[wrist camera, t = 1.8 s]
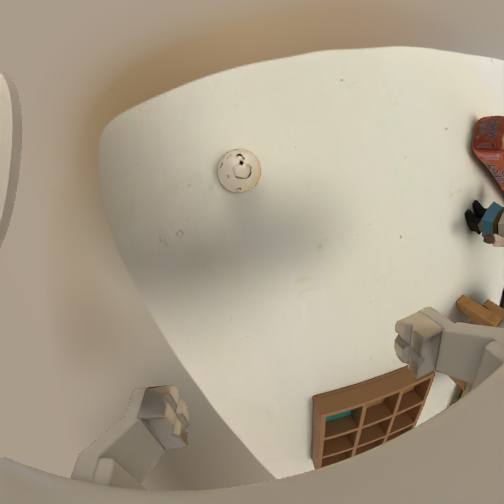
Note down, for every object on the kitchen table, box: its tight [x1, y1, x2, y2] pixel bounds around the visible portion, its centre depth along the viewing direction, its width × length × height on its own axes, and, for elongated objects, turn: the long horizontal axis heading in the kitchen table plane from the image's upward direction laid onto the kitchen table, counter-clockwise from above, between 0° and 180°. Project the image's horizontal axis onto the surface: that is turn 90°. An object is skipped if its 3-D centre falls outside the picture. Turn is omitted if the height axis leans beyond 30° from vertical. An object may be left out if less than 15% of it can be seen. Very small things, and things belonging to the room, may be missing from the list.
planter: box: [448, 295, 504, 394], centre depth 20 cm, size 13×13×18 cm
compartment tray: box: [312, 366, 435, 470], centre depth 29 cm, size 16×16×3 cm
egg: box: [218, 149, 261, 193], centre depth 19 cm, size 3×3×5 cm
